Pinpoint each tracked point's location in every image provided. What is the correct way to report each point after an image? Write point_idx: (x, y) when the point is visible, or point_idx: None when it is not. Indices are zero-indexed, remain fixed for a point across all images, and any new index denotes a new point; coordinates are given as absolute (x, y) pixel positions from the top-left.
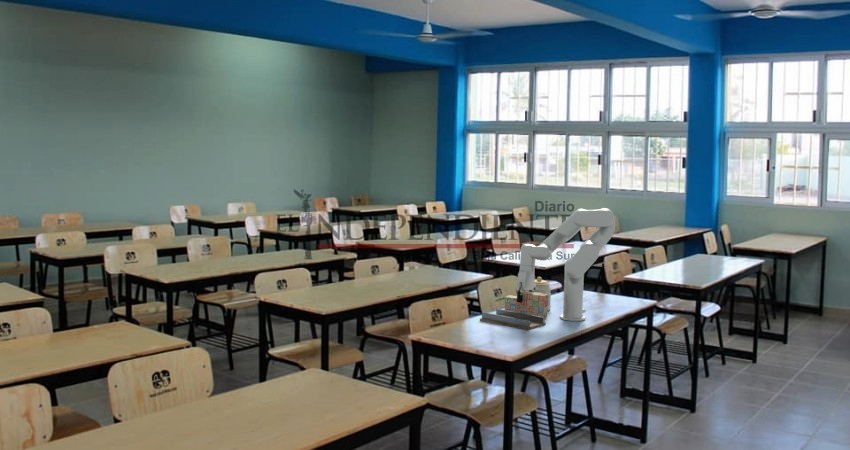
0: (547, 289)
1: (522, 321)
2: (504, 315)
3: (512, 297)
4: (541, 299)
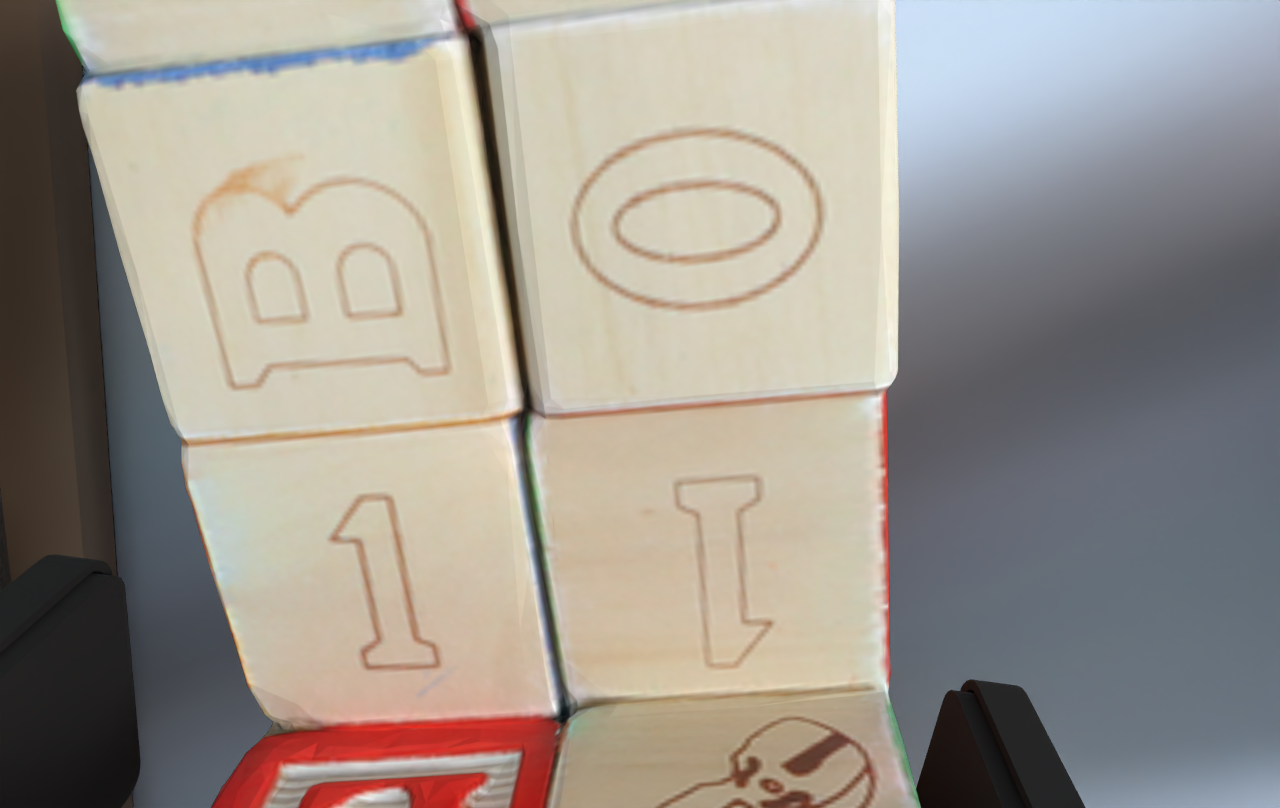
0: None
1: None
2: None
3: (208, 181)
4: None
